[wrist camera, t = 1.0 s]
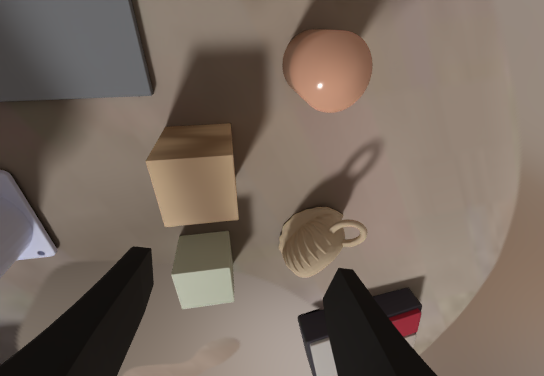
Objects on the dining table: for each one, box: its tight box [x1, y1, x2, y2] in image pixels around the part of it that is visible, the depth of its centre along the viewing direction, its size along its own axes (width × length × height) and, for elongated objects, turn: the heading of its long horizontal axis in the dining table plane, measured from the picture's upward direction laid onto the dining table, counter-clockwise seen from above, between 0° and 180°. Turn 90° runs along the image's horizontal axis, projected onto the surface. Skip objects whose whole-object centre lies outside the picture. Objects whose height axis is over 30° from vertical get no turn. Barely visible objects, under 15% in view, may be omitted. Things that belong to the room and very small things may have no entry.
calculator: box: [298, 288, 422, 376], centre depth 35 cm, size 11×4×15 cm
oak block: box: [146, 123, 239, 227], centre depth 17 cm, size 4×4×6 cm
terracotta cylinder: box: [283, 29, 372, 113], centre depth 16 cm, size 4×4×4 cm
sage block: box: [171, 231, 234, 309], centre depth 23 cm, size 4×4×4 cm
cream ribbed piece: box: [279, 207, 367, 278], centre depth 23 cm, size 4×8×5 cm, turn 134°
